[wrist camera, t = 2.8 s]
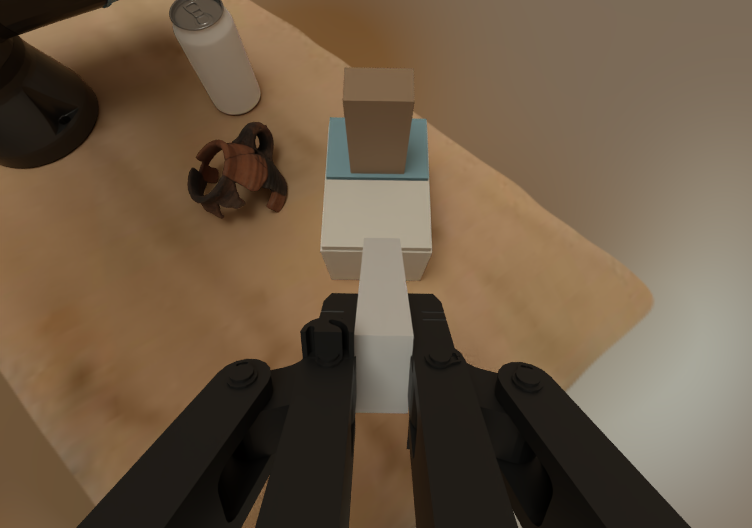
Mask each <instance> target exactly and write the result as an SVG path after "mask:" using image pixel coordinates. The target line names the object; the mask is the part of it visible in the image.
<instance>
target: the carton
mask: <svg viewBox="0 0 752 528" xmlns="http://www.w3.org/2000/svg"><path fill="white" fill-rule="evenodd" d="M329 124H330V123H329ZM328 139H329V131H328ZM427 147H428V136H427ZM327 153H328V145H327ZM326 168H327V160H326ZM428 172H429V161H428ZM364 238H400V243H401V250H402V257H403V264H404V271H405V278H406V281H420V279H421V277H422V275H423V272H424V270H425V268H426V266H427V263H428V261H429V259H430V257H431V254H432V235H431V210H430V186H429V179H428V181H393V180H327V179H326V175H325V189H324V204H323V219H322V233H321V248H320V252H321V254H322V257H323V259H324V262H325V264H326V267H327V269H328V272H329V274H330V277H331V279H332V280H360V273H361V263H362V253H363V243H364Z"/></svg>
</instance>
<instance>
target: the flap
mask: <svg viewBox="0 0 752 528" xmlns="http://www.w3.org/2000/svg"><path fill="white" fill-rule="evenodd" d="M343 107H344V116H345V118H331V117H330V124H329V139H328V153H327V168H326V179H327V180H393V181H428V179H429V172H428V147H427V122H426V119H412V116H413V109H414V69H412V68H346V67H345V69H344V87H343Z"/></svg>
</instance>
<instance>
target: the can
mask: <svg viewBox="0 0 752 528" xmlns="http://www.w3.org/2000/svg"><path fill="white" fill-rule="evenodd" d="M169 16H170V19H171V21H172V23H173V31H174V34H175V36H176V38H177V40H178V42H179V44H180V45H181V47H182V49H183V51H184V52H185V54H186V56H187V58H188V60H189V61H190V63H191V65H192V67H193V68H194V70H195V72H196V74H197V75H198V77H199V79H200V81H201V82H202V84H203V86H204V88H205V89H206V91H207V93H208V95H209V96H210V98H211V100H212V101H213V103H214V105H215V106H216V107H217V109H219V110H220V111H221V112H224V113H226V114H231V115H240V114H244V113H247V112H249V111H250V110H252V109H253V108H254V107H255V106H256V104H257V103H258V101H259V99H260V95H261V92H260V88H259V85H258V82H257V80H256V77H255V74H254V72H253V69H252V67H251V64H250V61H249V59H248V56H247V54H246V51H245V48H244V46H243V43H242V41H241V38H240V35H239V33H238V30H237V28H236V25H235V23H234V20H233V18H232V16H231V14H230V13H229V11H228V10H227V9H226V8H225V7H224V6H223V3H222V1H221V0H176V1H175V2H174V3H173V4H172V6H171V8H170V11H169Z"/></svg>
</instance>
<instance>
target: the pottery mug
mask: <svg viewBox="0 0 752 528" xmlns="http://www.w3.org/2000/svg"><path fill="white" fill-rule="evenodd" d="M256 136H258V138H259V143H260V145H259V148H258V149H257V148H256V144H255V139H256ZM273 145H274V144H273V137H272V134H271V132H270V130H269V129H268V128H267V126H266V125H263V124H262V123H260V122H251V123H248V124H247V125H246V126H245V127H244V128H243V129H242V131H241V133H240V134H239V136H238V137H237V138H236V139H235V140H233V141H232V143H226V142H224V141H222V140H213V141H211V142H209V143H208V144H206V145H205V146H204V147H203V148H202V149H201V150H200V152H199V153H198V154H197V156H196V158H197V159H198V160H199V161H201V162H202V165H201V167H200V170H199V171H198V170H196V169H195V168H191V170H190V172H189V176H188V191H189V194H190V196H191V198H192V199H193V200H194V201H195V202H197V203H201V205H202V206H203V208H204V209H205V210H206V211H208V212H210V213H212V214H214V215H216V216H217V217H220V218H224V216H223V214H222V213H221V211H220V206H219V205H221V206H222V207H226V208H235V209H238V208H241V207H242V206H244V205H245V202H244V201H243V200H242V199H241V198H240V197H239V194H238V192H237V189H236V184H235V183H238V184H240V185H242V186H244V187H246V188H247V189H248V190H250V191H258V190H259V189H260V188H261V187H263V188H267V189H270V190H271V191H272V193H271V196H270V199H269V201H268V203H267V208H269V209H271V210H274V211H276V212H279V211H280V210H281V208H282V207H283V204H284V202H285V198H286V194H287V185H286V181H285V179H284V177H283V176H282V175H281V173H280V172H279V171H278V169H277V168H276V166H275V165H274V163H273V160H272V154H273ZM221 150H223V152H224V157H225V164H224V169H223V173H222V176H221V178H220V180H219V182H218V184H217V185H216V186H215V188H214V189H213V190H212V191H211V192H210V193H208V194H207V195H205V196H204V191H205V188H206V185H207V183H216V182H217V180H218V174H219V172H218V170H217V169H216V168H212V167H210V166H209V163H210V161H211V160H212V159H213V157H214V156H215V155H216V153H218V152H219V151H221Z"/></svg>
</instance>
